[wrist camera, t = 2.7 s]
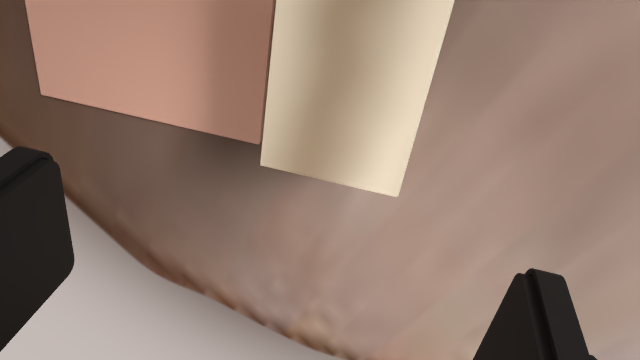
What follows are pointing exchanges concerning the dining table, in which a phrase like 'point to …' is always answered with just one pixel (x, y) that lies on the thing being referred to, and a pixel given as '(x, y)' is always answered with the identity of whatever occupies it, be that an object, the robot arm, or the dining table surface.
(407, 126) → the birch stool
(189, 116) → the terracotta mat
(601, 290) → the dining table surface
